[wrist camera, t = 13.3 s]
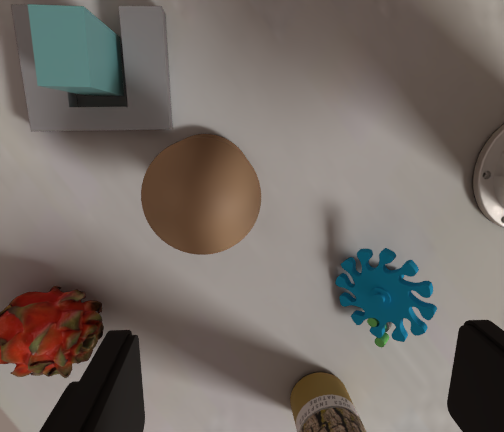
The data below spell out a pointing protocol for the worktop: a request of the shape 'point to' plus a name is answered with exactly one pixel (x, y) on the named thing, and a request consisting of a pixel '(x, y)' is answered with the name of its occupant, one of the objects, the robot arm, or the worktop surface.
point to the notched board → (136, 75)
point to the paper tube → (323, 405)
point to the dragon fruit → (49, 332)
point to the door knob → (201, 195)
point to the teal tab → (75, 51)
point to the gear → (385, 296)
